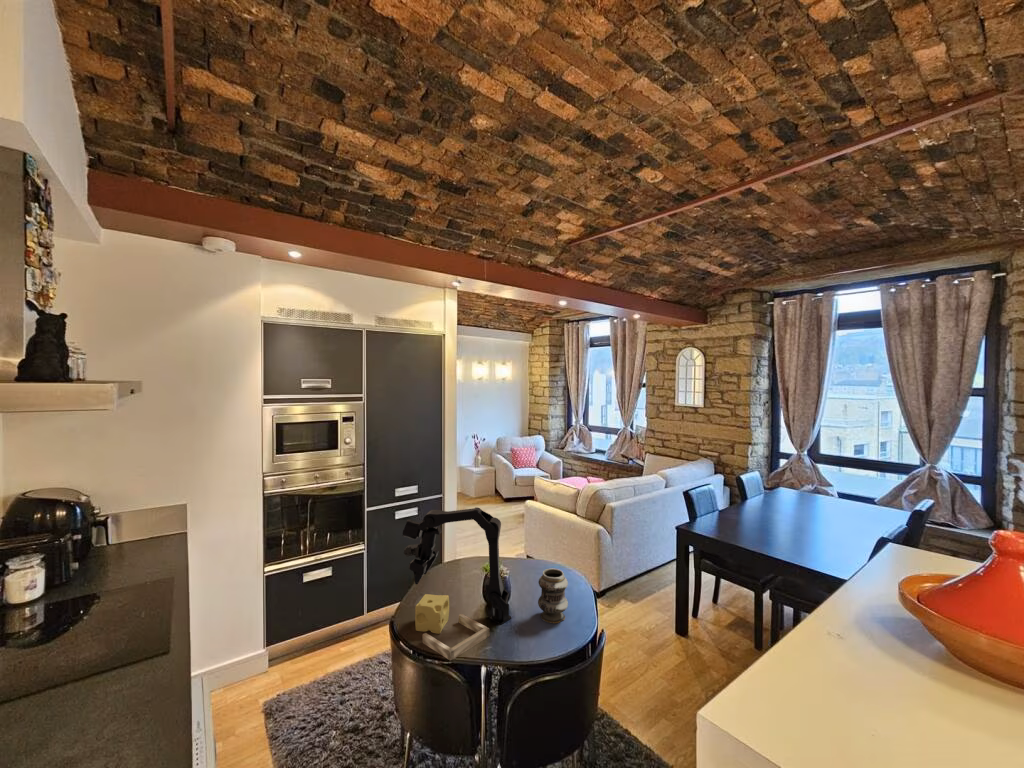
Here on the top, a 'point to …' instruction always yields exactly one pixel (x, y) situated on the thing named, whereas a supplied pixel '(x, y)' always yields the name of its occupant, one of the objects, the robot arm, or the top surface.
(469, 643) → the square wooden tray
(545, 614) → the apothecary jar
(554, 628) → the top surface
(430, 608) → the cheese
